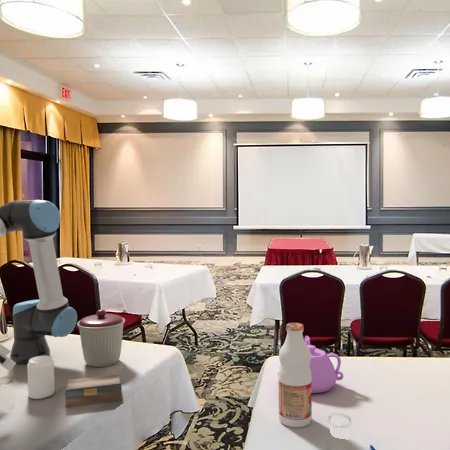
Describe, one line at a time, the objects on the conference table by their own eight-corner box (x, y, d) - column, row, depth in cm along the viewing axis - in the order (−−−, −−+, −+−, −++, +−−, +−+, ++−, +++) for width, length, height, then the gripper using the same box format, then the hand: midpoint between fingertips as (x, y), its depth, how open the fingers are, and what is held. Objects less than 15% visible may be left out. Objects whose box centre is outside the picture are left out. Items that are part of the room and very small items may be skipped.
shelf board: (67, 387, 160) (67, 371, 160) (118, 381, 165) (118, 365, 165) (65, 407, 145) (64, 390, 144) (121, 400, 149) (121, 383, 149)
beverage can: (45, 401, 149) (44, 364, 149) (23, 399, 151) (21, 362, 150) (59, 390, 157) (58, 355, 157) (38, 389, 159) (36, 354, 158)
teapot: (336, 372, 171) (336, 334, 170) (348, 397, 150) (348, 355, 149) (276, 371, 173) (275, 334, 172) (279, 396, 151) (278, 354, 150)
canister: (88, 354, 193) (87, 304, 192) (131, 355, 192) (130, 304, 191) (70, 370, 175) (68, 315, 174) (117, 371, 174) (116, 315, 173)
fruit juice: (272, 416, 137) (272, 322, 136) (300, 410, 141) (300, 319, 139) (288, 431, 129) (288, 331, 127) (318, 424, 132) (318, 327, 130)
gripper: (-57, 321, 149) (-3, 358, 158) (-57, 341, 128) (5, 383, 136) (-39, 302, 152) (13, 340, 160) (-36, 319, 130) (24, 362, 139)
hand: (10, 360), depth 148 cm, fingers open, 13 cm apart
